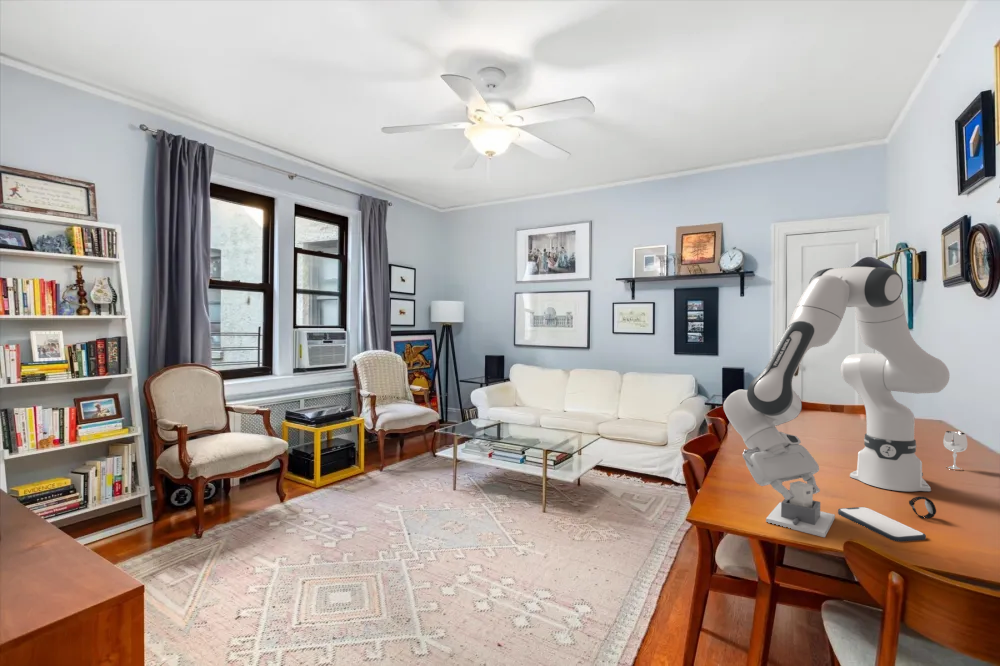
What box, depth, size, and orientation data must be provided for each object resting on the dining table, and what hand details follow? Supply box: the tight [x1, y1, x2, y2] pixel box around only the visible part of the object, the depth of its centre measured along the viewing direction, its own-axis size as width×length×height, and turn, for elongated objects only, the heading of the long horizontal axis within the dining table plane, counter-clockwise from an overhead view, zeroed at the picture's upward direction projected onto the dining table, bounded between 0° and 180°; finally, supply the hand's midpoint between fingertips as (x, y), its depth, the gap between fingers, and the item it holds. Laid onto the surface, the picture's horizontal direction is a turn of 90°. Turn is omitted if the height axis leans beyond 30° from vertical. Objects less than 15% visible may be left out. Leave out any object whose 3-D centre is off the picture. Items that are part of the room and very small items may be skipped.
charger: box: [789, 480, 814, 508], centre depth 118 cm, size 3×4×8 cm
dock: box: [765, 498, 836, 538], centre depth 118 cm, size 14×12×4 cm
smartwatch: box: [908, 496, 937, 519], centre depth 120 cm, size 4×5×5 cm
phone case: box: [837, 506, 927, 543], centre depth 115 cm, size 9×2×16 cm
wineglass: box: [942, 430, 968, 469], centre depth 158 cm, size 6×6×12 cm
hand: (803, 495), depth 117 cm, fingers open, 8 cm apart
